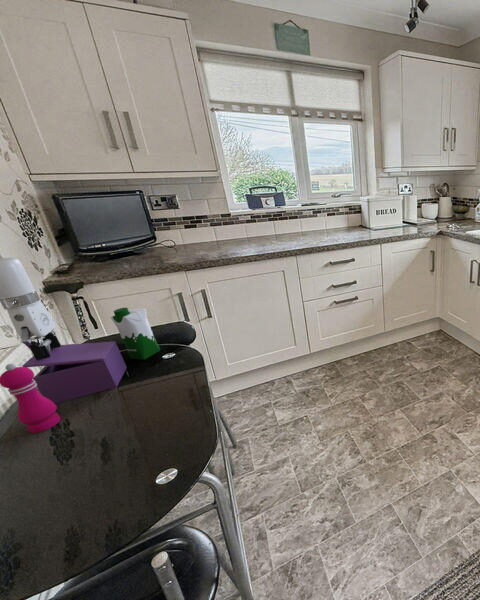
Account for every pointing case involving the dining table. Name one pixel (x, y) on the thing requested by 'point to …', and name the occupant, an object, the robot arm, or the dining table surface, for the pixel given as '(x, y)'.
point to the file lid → (73, 354)
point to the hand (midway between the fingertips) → (49, 352)
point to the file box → (80, 377)
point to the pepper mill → (29, 399)
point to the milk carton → (135, 332)
